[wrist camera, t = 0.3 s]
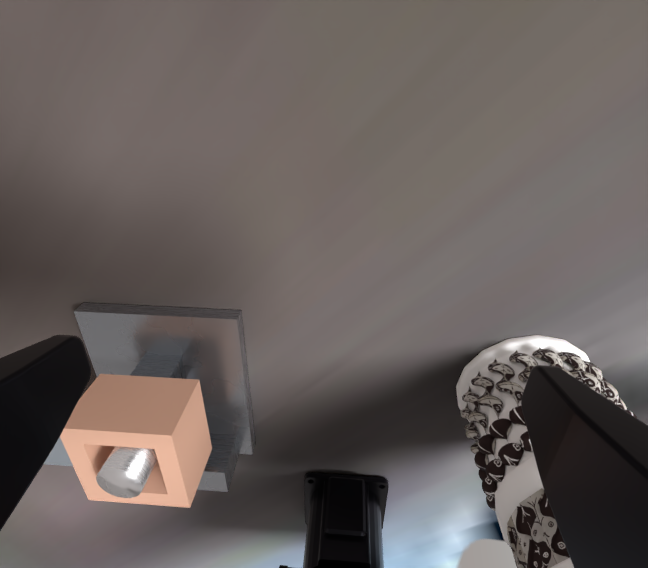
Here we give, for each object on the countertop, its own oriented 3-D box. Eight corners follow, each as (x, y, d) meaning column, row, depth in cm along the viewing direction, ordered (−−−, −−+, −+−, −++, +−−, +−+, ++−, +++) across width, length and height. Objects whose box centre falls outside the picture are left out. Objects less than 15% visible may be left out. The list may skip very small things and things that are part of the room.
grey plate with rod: (255, 443, 30) (226, 554, 23) (127, 434, 31) (62, 540, 24) (241, 310, 24) (196, 406, 17) (83, 302, 25) (-20, 393, 18)
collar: (212, 448, 26) (190, 507, 23) (123, 442, 27) (88, 499, 23) (199, 379, 23) (171, 435, 20) (100, 373, 24) (55, 427, 20)
